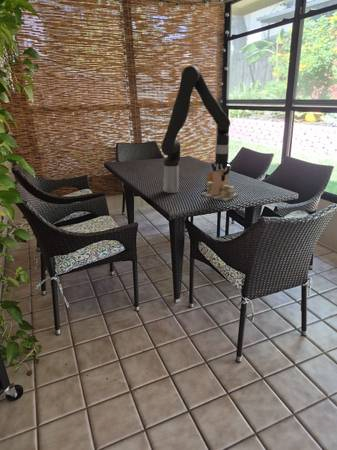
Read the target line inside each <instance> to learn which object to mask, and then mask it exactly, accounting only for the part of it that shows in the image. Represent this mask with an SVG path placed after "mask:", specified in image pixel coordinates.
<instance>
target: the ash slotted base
mask: <svg viewBox="0 0 337 450" xmlns="http://www.w3.org/2000/svg"><path fill="white" fill-rule="evenodd" d="M206 182H207V181H206ZM212 186H213V182H207V189H206V191H205V192H204V191H203V192H201V196H202V197H203V196H204V197H208V198H210V199H215V200H220V201H223V202H227V201H229V200H233V199H234V198H237V197H239V193H235V186H233V185H230V184H228V185H223V186H222V189H220V193H219V194H218V195H213V194H212Z"/></svg>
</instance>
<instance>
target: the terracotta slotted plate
mask: <svg viewBox="0 0 337 450" xmlns="http://www.w3.org/2000/svg"><path fill="white" fill-rule="evenodd" d="M223 170H224V169H223ZM226 170H227V168H226ZM228 180H229V174H227V175H225V180H224V181H222V171H221V170H217V171H214V172H213V186H212V194H213V195H218V194H219V193H220V189H222V186H223V185H229V184H228V183H229V181H228Z"/></svg>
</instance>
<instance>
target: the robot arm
mask: <svg viewBox="0 0 337 450" xmlns="http://www.w3.org/2000/svg"><path fill="white" fill-rule="evenodd" d="M194 89H195V90H196V92H197V94H198V95H199V97H200V99H201V102H202V103H203V104H202V105H204V107H205V109H206V110H207V112H208V113H209V116H211V117H212V118H213V120H214V122H215V124H216V126H217V127H216V128H217V130H216V131H217V136H216V147H215V157H214V158H215V162H213V163H211V164H210V165H211V168H212V171H213V172H214V171H217V170H221V171H222V181H224V180H225V175H227V174H228V175H229V173H230V171H231V169H232V168H233V166H232V165H230V164H229V152H230V151H229V147H230V145H229V144H230V143H229V142H230V135H229V132H230V126H231V120H230V118H229V117H228V116H227V114H226V113H225V112H224V110H223V109H222V106H221V105H220V103H219V102H218V100H217V99H216V97H215V96H214V94H213V93H212V92H211V89H210V88H209V87H208V85H207V83H206V81H205V80H204V77H203V75H202V73H201V70H200V68H199V66H197V65H194V64H192V65H191V64H190V65H188V66H185V68H183V70H182V73H181V78H180V83H179V87H178V92H177V96H176V98H175V101H174V104H173V106H172V111H171V114H170V119H169V122H168V125H167V129H166V133H165V135H164V137H163V139H162V143H161V147H160V148H161V152H162V154H163V155H165V156H167V157H166V158H165V160H164V162H163V177H162V181H163V182H162V183H163V185H162V186H163V192H165V193H167V194H176V193H178V192H179V185H180V184H179V182H180V181H179V180H180V179H179V177H180V176H179V165H180V164H179V163H180V160H181V144H180V141H179V140H178V139H177V136H178V134H179V132H180V131H181V129H182V128H183V127H184V124H185V123H186V122H187V118H188V115H189V111H190V107H191V97H192V93H193V90H194ZM223 169H224V170H223ZM226 169H227V170H226Z"/></svg>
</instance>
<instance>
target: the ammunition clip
mask: <svg viewBox="0 0 337 450" xmlns="http://www.w3.org/2000/svg"><path fill="white" fill-rule="evenodd" d="M207 182H213V170H212V171H211V170H210V171H207V175H206V182H205V190H207Z"/></svg>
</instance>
